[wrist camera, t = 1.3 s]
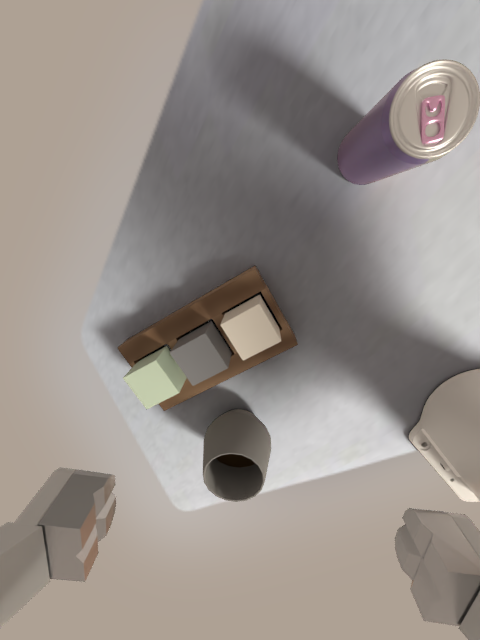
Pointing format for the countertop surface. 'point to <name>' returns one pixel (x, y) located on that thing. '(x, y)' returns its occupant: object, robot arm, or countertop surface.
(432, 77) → the beverage can
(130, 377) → the sage key
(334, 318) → the countertop surface
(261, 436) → the cup
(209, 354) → the graphite key
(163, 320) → the wooden tray
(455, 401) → the robot arm
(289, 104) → the countertop surface
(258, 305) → the ivory key
